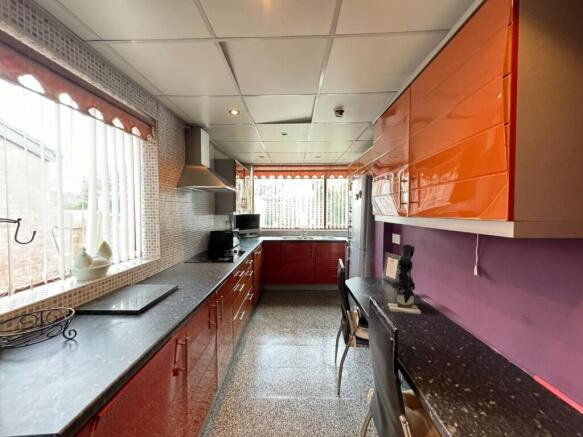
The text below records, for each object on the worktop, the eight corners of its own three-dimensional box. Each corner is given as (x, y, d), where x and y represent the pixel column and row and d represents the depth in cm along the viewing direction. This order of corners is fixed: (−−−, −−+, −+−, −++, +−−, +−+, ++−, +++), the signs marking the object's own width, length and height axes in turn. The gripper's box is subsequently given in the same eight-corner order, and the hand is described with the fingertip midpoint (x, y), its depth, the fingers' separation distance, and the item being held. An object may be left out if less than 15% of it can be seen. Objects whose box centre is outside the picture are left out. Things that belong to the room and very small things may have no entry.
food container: (412, 305, 177) (413, 291, 177) (415, 309, 171) (415, 293, 171) (393, 304, 180) (393, 289, 179) (395, 307, 174) (395, 292, 173)
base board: (388, 304, 182) (388, 303, 181) (415, 307, 178) (415, 305, 178) (391, 311, 170) (391, 309, 170) (420, 313, 166) (421, 311, 166)
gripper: (389, 273, 184) (388, 295, 184) (394, 280, 166) (394, 304, 166) (406, 274, 182) (405, 296, 182) (413, 281, 164) (412, 306, 164)
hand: (404, 300), depth 174 cm, fingers open, 9 cm apart
